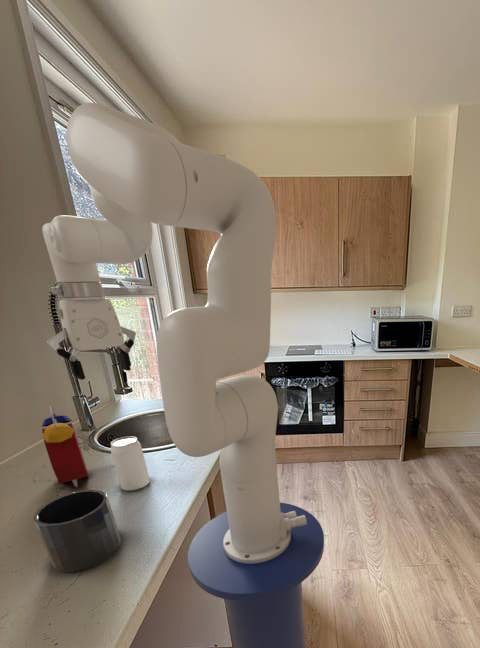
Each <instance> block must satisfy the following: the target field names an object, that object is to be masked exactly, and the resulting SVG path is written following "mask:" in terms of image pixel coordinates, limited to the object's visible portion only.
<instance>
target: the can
mask: <svg viewBox="0 0 480 648" xmlns="http://www.w3.org/2000/svg"><path fill="white" fill-rule="evenodd" d="M110 455H111V458H112V462H113V465H114V468H115V473H116V475H117V479H118V483H119V485H120V488H121V489H122V490H124V491H126V492H134V491H139V490H141V489H143V488H145V487H146V486H148V485H149V483H150V480H151V479H150V476H149V472H148V471H149V470H148V467H147V464H146V459H145V456H144V455H145V454H144V452H143V448H142V445H141V442H140V441H139V440H138V437H136V436H132V435H131V436H130V435H129V436H122V437H120V438H116V439H113V440H112V441H111V442H110Z"/></svg>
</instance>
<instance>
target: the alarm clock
mask: <svg viewBox="0 0 480 648" xmlns="http://www.w3.org/2000/svg"><path fill="white" fill-rule="evenodd" d="M49 412H50V416H49V417H47V418H45V419H44V420H43V422H42V425H41V427H42V428H41V431H42V432H41V433H42V435H41V438H42V439H43V442H44V447H45V449H46V453H47V456H48V459H49V462H50V465H51V468H52V470H53V473H54V475H55V478H56V480H57V482H58V484H59V485H60V484H64V483H68V482H72V484H73V485H74V487H75V488H78V487H79V485H78V480H79V479H83V478H87V477H89V475H90V474H89V471H88V468H87V464H86V462H85V459H84V455H83V452H82V450H83V451H85V452H87V453H88V452H89V451H90V450H91V449H92V446H91V445H89V444H90V441H89V440H87V439H88V437H89V436H88V435H87V433H88V432H86V431H83V430H82V431H81V432H80V433H78V435H77V433H76V430H75V428H74V425H73V423H72V422H73V419H71V418H70V417H68V416H67V415H57V414H56V413H55V410H54V407H53V406H51V405H49ZM43 427H44V428H43ZM78 438H79V439H80V440H82V441H81V442H80V441H79V439H78ZM81 448H82V449H81Z"/></svg>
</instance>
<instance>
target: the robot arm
mask: <svg viewBox="0 0 480 648" xmlns="http://www.w3.org/2000/svg"><path fill="white" fill-rule="evenodd" d="M65 135H66V139H65V140H66V147H67V151H68V155H69V159H70V161H71V164H72V166H73V168H74V169H75V171H76V172H77V174H78V175H79V176H80V177H81V179H82V180H83V181H85V183H87V184H88V185H89V186H90V196H91V199H92V202H93V205H94V206H95V208H96V209H97V211H98V212H99V214H100V215H101V216H102V217H103V218H104V219H102V218H94V217H84V216H76V215H67V214H66V215H64V214H61V215H56V216H55V217H53V218H52V220H51V222H47V223H44V224H43V225H42V229H41V232H42V237H43V239H44V243H45V245H46V249H47V252H48V256H49V260H50V264H51V267H52V269H53V272H54V276H55V279H56V285H55V286H51V287H50V291H51V294H52V295H57V296H59V297H60V298H61V300H58V307H59V308H58V309H59V316H60V323H61V328H62V330H61V331H59V332H58V333H57V334H55V335H53V336H52V337H50V338H49V339H48V340H46V345H47V346H48V347H49V348H50V349H51V350H52V351H53V352H54V353H55V354H56V355H58V356H60V357H62V358H63V359H65V360H66V361H68V365H69V367H70V371H71V374H72V375H73V376H74V377H75V378H76V379H77V380H81V381H82V380H85V379H86V375H85V372H84V368H83V365H82V362H81V360H79V359H78V358H79V356H80V354H81V352H82V351H86V352H87V351H94V350H101V349H102V350H103V349H108V348H109V349H110V348H115V349H116V350H118V352H117V356H118V361H119V364H120V368H121V370H124V371H127V372H129V371H131V366H132V363H131V362H132V361H131V357H130V354H129V353H131V349H132V348H133V346H134V345H135V339H136V335H137V333H136V331H134V330H132V329H129V328H126V327H123V326H122V325H121V323H120V321H119V317H118V314H117V313H116V311H115V308H114V305H113V303H112V301H111V299H110V298H106V296H105V293H104V290H103V289H104V288H103V285H102V282H101V278H100V277H101V276H100V273H99V270H98V266H97V264H110V265H111V264H112V265H129V264H132V263H134V262H137V261H139V260H140V259H141V258H142V257H143V256H144V255H145V254H147V253H148V252H149V250H150V248H151V246H152V243H153V224H156V225H160V226H167V227H169V226H170V227H175V228H184V229H190V230H191V229H192V230H201V231H210V232H216V233H218V234H220V236H219V237H218V239H217V241H216V242H215V244H214V246H213V248H212V251H211V253H210V255H209V259H208V262H207V267H206V282H207V300H206V304H205V305H204V306H203V305H202V306H192V307H191V306H189V307H182V308H178V309H176V310H173V311H171V312H170V313H168V314H167V315H166V316H165V317H164V318H163V320H162V321H161V322H160V324H159V327H158V331H157V335H156V359H157V366H158V373H159V381H160V382H159V383H160V389H161V398H162V404H163V405H162V406H163V412H164V418H165V419H164V420H165V424H166V429H167V432H168V435H169V437H170V439H171V441H172V443H173V444H174V446H175V447H176V448H177V450H179V452H181V453H182V454H184V455H186V456H188V457H192V458H202V457H206V456H209V455H212V454H214V453H216V452H218V451H219V470H220V478H221V484H222V490H223V496H224V503H225V509H226V511H227V516H228V522H229V528H230V529H229V530H228V531H227V533H226V534H225V536H224V539H223V546H224V550H225V553H226V554H227V555H228V557H230V558H231V559H233V560H235V561H237V562H240V563H246V564H255V563H261V562H266V561H268V560H271V559H273V558H275V557H277V556H278V555H280V554H281V553H282V552H283V551H284V550H285V549H286V548H287V547H288V545H289V543H290V540H291V532H290V531H291V528H294V527H300V526H304V525H307V521H306V517H305V515H302V516H298V517H296V512H295V511H292V512H289V513H285V514H284V513H281V510H280V503H281V500H280V489H279V478H278V477H279V476H278V463H277V451H276V435H277V434H276V433H277V426H278V425H277V424H278V416H279V415H278V414H279V404H278V399H277V394H276V392H275V390H274V389H273V387H272V386H271V384H270V383H269V382H268V381H267V380H266V379H263V378H262V377H260V376H257V375H251V374H243V375H238V374H242V373H246V372H249V371H252V370H255V369H257V368H258V367H260V366H262V365H263V364H264V363H265V362H266V360H267V359H268V357H269V353H270V346H271V321H272V320H271V317H272V269H273V261H274V260H273V259H274V253H275V247H276V239H277V237H276V236H277V213H276V207H275V202H274V199H273V197H272V195H271V192H270V190H269V188H268V187H267V185H266V183H265V182H264V181H263V179H261V178H260V177H259V176H258V175H257V174H256V173H255V172H254V171H252V170H251V169H249V168H248V167H247V166H244V165H242V164H240V163H238V162H236V161H235V160H231V159H229V158H227V157H225V156H222V155H219V154H216V153H213V152H210V151H208V150H204V149H201V148H197V147H195V146H192V145H188V144H185V143H182V142H180V141H179V140H178V138H177V137H175V135H173V134H172V133H171V132H170V131H168V130H167V129H165V128H163V127H162V126H160V125H158V124H156V123H153V122H151V121H149V120H146V119H142V118H140V117H137V116H135V115H132V114H129V113H126V112H123V111H122V110H118V109H115V108H112V107H110V106H107V105H104V104H101V103H97V102H85V103H82V104H80V105H79V106H77V107H76V108H75V109H74V110H73V112H72V113H71V115H70V116H69V119H68V121H67V125H66V134H65ZM124 335H126V339H125V337H124ZM64 340H65V342H66V345H67V347H68V350H65V349H64V348H62V347H61V346H60V343H61V342H63V341H64ZM235 375H237V376H235ZM232 376H234V377H232ZM228 377H229V378H228ZM224 378H226V379H224ZM218 380H219V381H218Z"/></svg>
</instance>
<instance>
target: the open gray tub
mask: <svg viewBox="0 0 480 648" xmlns="http://www.w3.org/2000/svg"><path fill="white" fill-rule="evenodd" d="M33 523H34V525H35V527H36V531H37V533H38V535H39V538H40V540H41V542H42V544H43V546H44V549H45V551H46V553H47V556H48V558H49V561H50V563H51V565H52V566H53V569H55V570H56V571H57V572H60V573H64V574H65V573H66V574H71V573H72V574H74V573H79V572H83V571H87V570H90V569H92V568H95V567H97V566H99V565H101V564H103V563H104V562H106V561H107V560H108V559H110V558H111V557H112V556H113V555H114V554H115V553H116V552H117V551H118V549H119V548H120V546H121V542H122V540H121V535H120V532H119V529H118V526H117V523H116V519H115V516H114V513H113V509H112V508H111V503H110V500H109V497H108V495H107V492H104V491H102V490H99V489H84V490H79V491H73V492H70V493H66V494H63V495H61V496H58V497H56V498H54V499H51V500H50V501H49V502H47V503H45V504H44V505H41V507H40V508H38V509H37V511H36V512H35V513H34V515H33Z"/></svg>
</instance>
